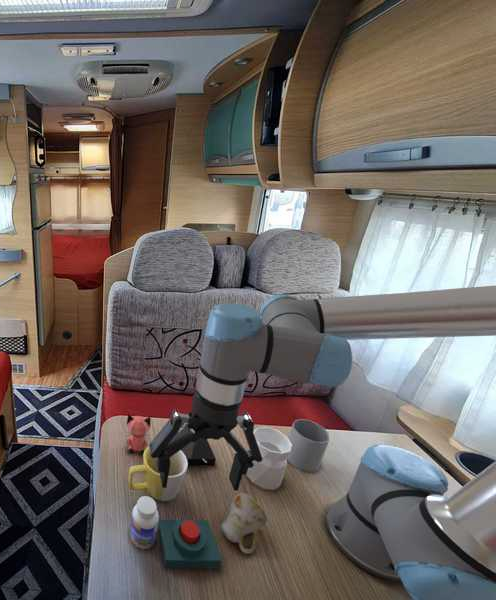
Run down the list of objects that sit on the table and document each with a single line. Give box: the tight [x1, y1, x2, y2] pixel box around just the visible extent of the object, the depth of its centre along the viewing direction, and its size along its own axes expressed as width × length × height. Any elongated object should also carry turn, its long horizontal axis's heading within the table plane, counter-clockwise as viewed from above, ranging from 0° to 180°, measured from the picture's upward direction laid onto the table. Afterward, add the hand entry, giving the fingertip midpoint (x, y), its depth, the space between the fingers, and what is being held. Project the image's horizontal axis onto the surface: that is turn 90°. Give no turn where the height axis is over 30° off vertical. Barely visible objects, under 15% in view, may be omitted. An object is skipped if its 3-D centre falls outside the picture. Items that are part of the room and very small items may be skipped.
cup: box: [287, 418, 331, 473], centre depth 89 cm, size 8×8×10 cm
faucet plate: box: [181, 438, 217, 467], centre depth 91 cm, size 12×11×3 cm
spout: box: [182, 429, 196, 459], centre depth 89 cm, size 8×3×8 cm, turn 152°
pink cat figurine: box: [126, 413, 151, 456], centre depth 90 cm, size 7×7×12 cm
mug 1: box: [127, 445, 189, 502], centre depth 79 cm, size 14×10×10 cm
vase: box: [245, 426, 292, 491], centre depth 83 cm, size 9×9×12 cm
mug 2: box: [221, 492, 268, 555], centre depth 71 cm, size 8×10×10 cm
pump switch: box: [157, 517, 222, 568], centre depth 68 cm, size 11×8×4 cm
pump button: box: [180, 520, 199, 544], centre depth 67 cm, size 4×4×2 cm
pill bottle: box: [130, 495, 160, 550], centre depth 69 cm, size 5×5×10 cm
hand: (198, 483), depth 63 cm, fingers open, 13 cm apart
